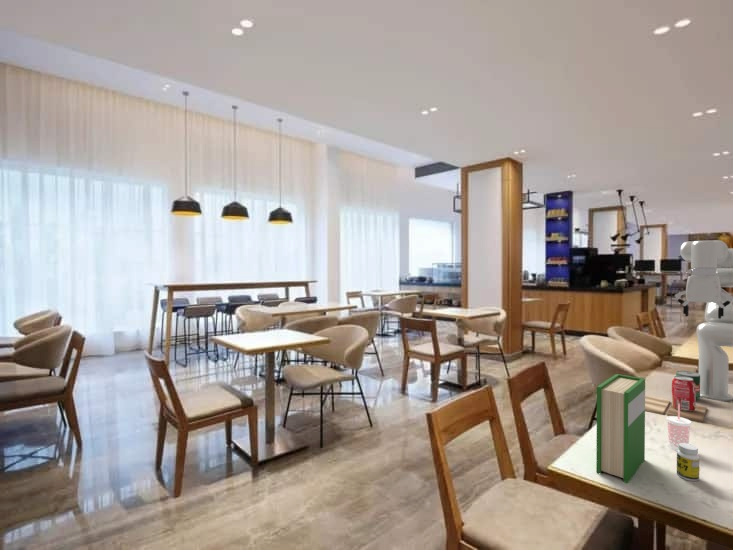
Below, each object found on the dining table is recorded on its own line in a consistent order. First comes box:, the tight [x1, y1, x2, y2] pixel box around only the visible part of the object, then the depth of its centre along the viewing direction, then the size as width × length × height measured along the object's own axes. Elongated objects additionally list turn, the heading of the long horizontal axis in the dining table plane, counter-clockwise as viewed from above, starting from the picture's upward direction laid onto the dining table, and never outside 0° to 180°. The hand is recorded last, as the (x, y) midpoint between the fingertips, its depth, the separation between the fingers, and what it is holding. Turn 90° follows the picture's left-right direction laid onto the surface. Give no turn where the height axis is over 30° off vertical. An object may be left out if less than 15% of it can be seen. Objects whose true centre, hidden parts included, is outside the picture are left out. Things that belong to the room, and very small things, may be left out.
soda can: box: [671, 375, 697, 412], centre depth 150 cm, size 7×7×12 cm
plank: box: [666, 404, 708, 424], centre depth 149 cm, size 18×10×2 cm, turn 136°
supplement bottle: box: [676, 443, 701, 482], centre depth 106 cm, size 5×5×8 cm
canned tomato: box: [675, 370, 701, 402], centre depth 165 cm, size 8×8×11 cm
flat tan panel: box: [645, 395, 671, 415], centre depth 157 cm, size 18×10×2 cm, turn 136°
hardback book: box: [595, 373, 646, 484], centre depth 112 cm, size 18×7×24 cm, turn 133°
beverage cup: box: [666, 404, 693, 451], centre depth 122 cm, size 6×6×14 cm
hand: (702, 317), depth 152 cm, fingers open, 9 cm apart
